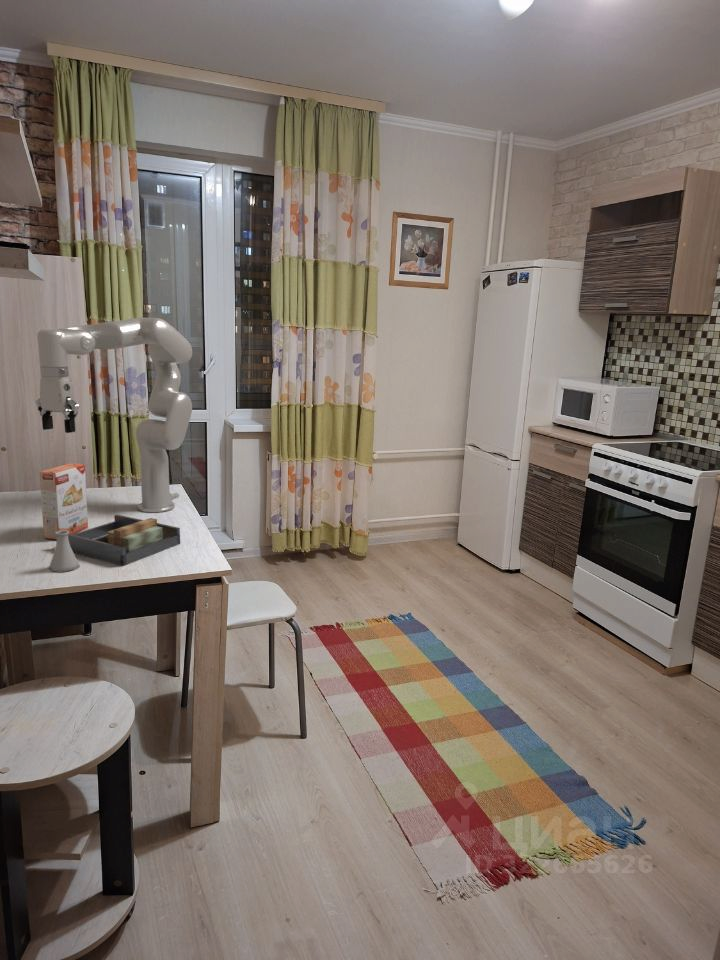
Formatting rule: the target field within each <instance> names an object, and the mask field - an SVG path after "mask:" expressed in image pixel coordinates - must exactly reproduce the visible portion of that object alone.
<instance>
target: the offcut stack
mask: <svg viewBox="0 0 720 960" xmlns="http://www.w3.org/2000/svg"><path fill="white" fill-rule="evenodd" d="M142 520H143V521H139V522H136V523H133V524H130V525H127V526H124V527H121V528H118V529H115V530H112V531H108V532H107V534H106V535H108V543H109V544H113V545H118V546H122V547H125V550H126V552H129V551H132V550H135V549H137V548H140V547H143V546H145V545H148V544H151V543H154V542H156V541H159V540H162V539H163V530H162V527H158V526H157V523H158V519H157V518H152V517H150V518H146V519H142Z"/></svg>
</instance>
